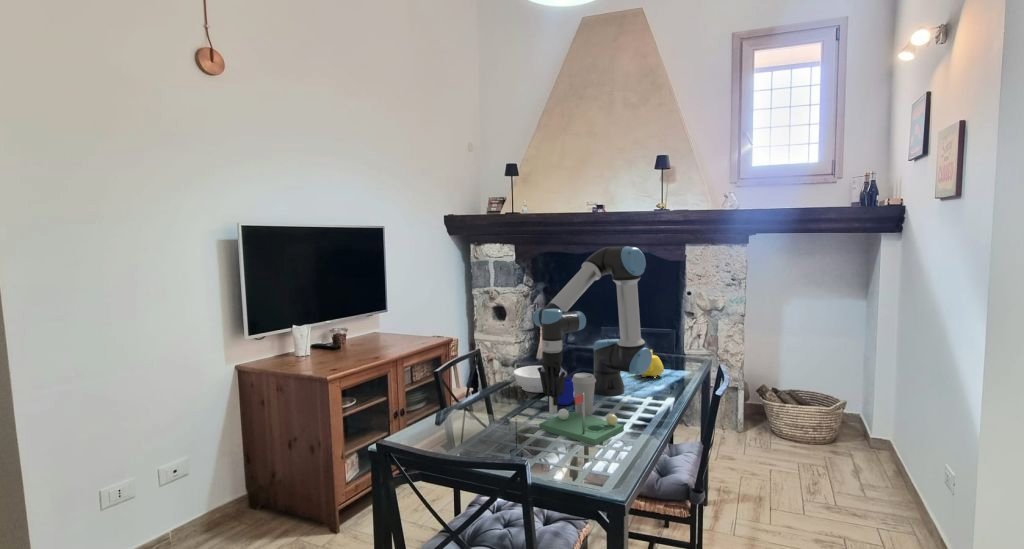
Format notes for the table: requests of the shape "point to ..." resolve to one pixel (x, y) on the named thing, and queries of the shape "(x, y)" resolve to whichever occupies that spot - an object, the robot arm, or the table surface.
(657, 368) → the teapot
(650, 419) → the table surface
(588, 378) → the coffee cup
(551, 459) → the table surface
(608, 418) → the yellow ball
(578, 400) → the flag pin
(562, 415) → the white ball
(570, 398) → the mug
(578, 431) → the putting mat
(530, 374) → the bowl
